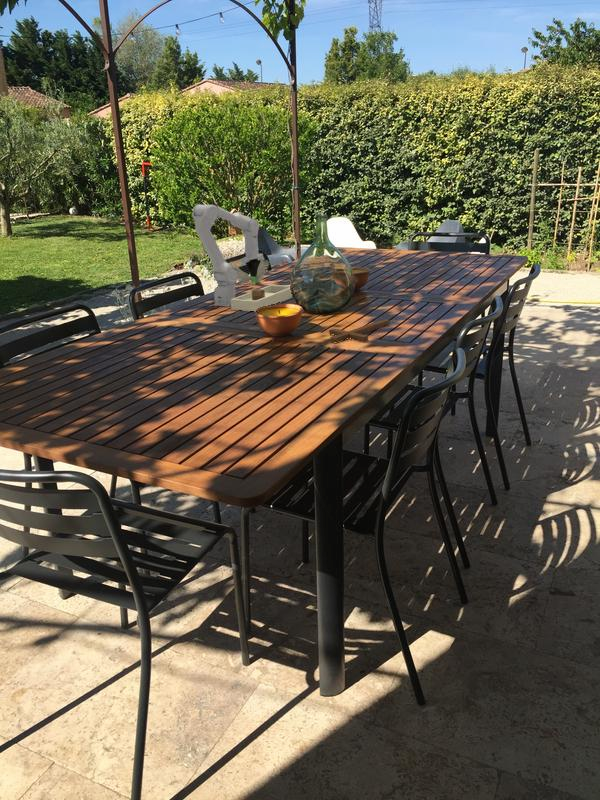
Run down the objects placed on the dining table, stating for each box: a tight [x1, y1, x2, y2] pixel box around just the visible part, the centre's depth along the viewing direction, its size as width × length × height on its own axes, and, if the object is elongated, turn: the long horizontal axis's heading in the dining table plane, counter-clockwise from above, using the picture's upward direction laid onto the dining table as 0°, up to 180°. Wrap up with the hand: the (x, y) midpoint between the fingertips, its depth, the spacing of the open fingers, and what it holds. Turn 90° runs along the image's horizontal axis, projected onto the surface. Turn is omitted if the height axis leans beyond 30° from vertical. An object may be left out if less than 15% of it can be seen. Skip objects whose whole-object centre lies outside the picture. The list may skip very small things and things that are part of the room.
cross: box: [328, 319, 390, 343], centre depth 230 cm, size 16×2×30 cm
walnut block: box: [251, 288, 265, 300], centre depth 279 cm, size 4×4×4 cm
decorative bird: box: [228, 258, 271, 286], centre depth 321 cm, size 24×10×15 cm
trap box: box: [230, 284, 293, 313], centre depth 283 cm, size 32×13×4 cm, turn 150°
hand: (253, 276), depth 293 cm, fingers closed
